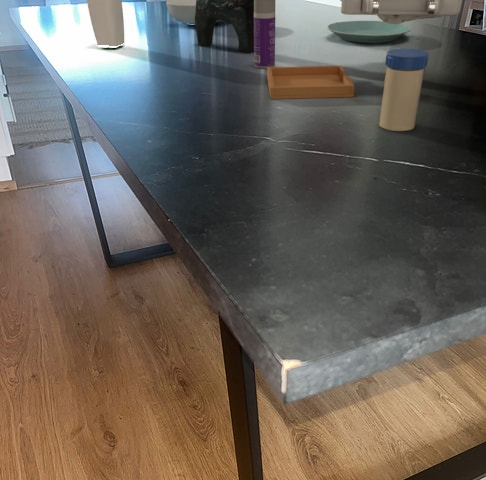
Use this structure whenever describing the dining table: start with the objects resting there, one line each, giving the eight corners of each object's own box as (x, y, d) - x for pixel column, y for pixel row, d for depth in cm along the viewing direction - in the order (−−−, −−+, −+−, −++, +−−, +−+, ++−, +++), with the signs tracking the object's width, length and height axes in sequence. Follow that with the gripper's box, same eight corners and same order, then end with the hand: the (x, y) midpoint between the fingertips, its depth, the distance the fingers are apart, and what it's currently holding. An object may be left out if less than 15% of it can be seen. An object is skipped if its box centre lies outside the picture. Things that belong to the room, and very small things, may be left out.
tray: (340, 75, 111) (341, 65, 110) (353, 97, 98) (354, 85, 97) (267, 77, 111) (267, 67, 110) (270, 99, 99) (270, 87, 97)
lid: (420, 60, 82) (422, 47, 81) (431, 69, 77) (434, 56, 76) (381, 61, 82) (382, 48, 81) (390, 70, 77) (391, 57, 76)
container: (273, 68, 117) (274, -8, 109) (252, 68, 118) (252, -8, 109) (275, 63, 121) (276, -11, 112) (255, 63, 122) (255, -11, 113)
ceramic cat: (265, 50, 133) (265, -43, 121) (249, 55, 129) (247, -41, 117) (207, 42, 143) (202, -45, 132) (190, 46, 139) (184, -43, 128)
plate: (369, 27, 155) (370, 16, 154) (427, 39, 140) (429, 27, 138) (309, 36, 146) (310, 25, 144) (365, 50, 130) (366, 38, 129)
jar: (409, 119, 87) (420, 51, 81) (418, 130, 83) (431, 59, 77) (375, 120, 88) (384, 52, 81) (383, 131, 83) (392, 60, 77)
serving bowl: (163, 21, 173) (160, -3, 169) (224, 16, 177) (223, -7, 173) (175, 32, 156) (173, 6, 152) (242, 26, 161) (242, 1, 157)
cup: (92, 49, 139) (81, -15, 130) (106, 44, 144) (96, -19, 135) (117, 50, 137) (107, -15, 128) (130, 45, 142) (121, -19, 134)
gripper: (341, -24, 97) (341, -14, 86) (457, -24, 94) (472, -14, 83) (338, 14, 100) (337, 28, 89) (449, 16, 98) (463, 30, 87)
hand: (403, 8), depth 86 cm, fingers open, 8 cm apart
